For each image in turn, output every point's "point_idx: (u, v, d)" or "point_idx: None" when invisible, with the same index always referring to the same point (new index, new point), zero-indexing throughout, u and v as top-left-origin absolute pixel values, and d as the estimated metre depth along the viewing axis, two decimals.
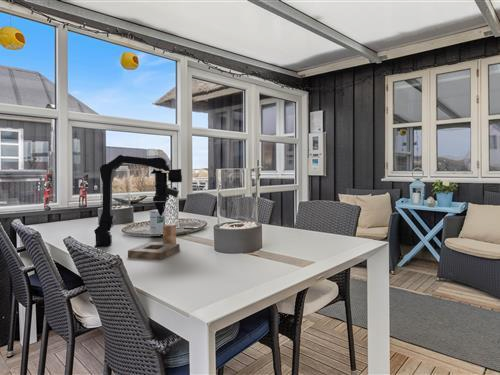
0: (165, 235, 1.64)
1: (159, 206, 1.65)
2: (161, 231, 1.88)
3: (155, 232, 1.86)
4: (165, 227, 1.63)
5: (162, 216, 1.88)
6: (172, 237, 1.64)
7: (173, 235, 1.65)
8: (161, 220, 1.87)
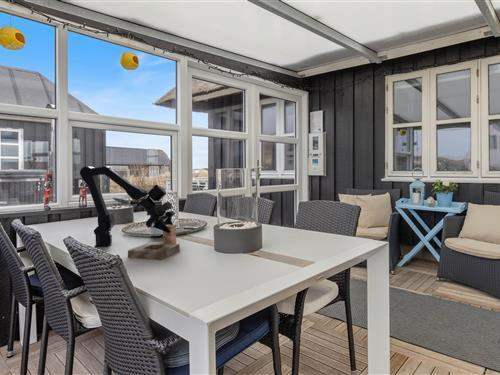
0: (165, 235, 1.64)
1: (161, 226, 1.62)
2: (161, 231, 1.88)
3: (155, 232, 1.86)
4: None
5: None
6: (172, 236, 1.64)
7: (173, 235, 1.65)
8: None
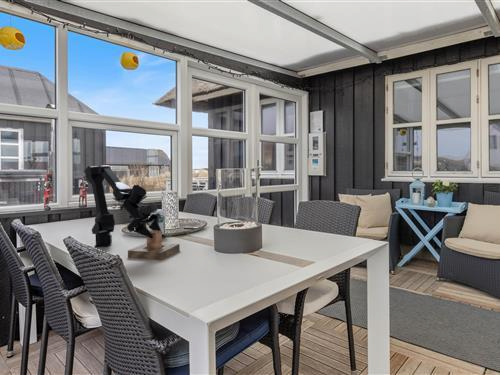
0: (149, 242, 1.49)
1: (143, 231, 1.47)
2: None
3: None
4: None
5: (162, 216, 1.88)
6: (157, 244, 1.49)
7: (158, 242, 1.50)
8: (161, 220, 1.87)
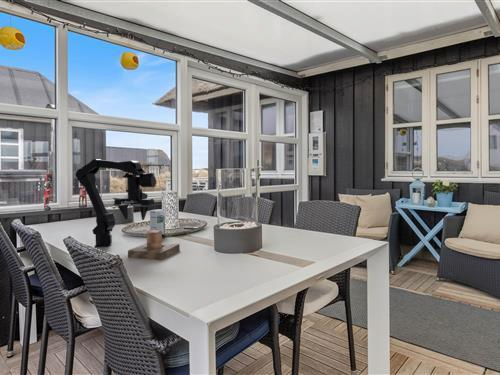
0: (149, 242, 1.49)
1: (144, 210, 1.62)
2: None
3: None
4: (149, 233, 1.49)
5: (162, 216, 1.88)
6: (157, 244, 1.49)
7: (158, 242, 1.50)
8: (161, 220, 1.87)
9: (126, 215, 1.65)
